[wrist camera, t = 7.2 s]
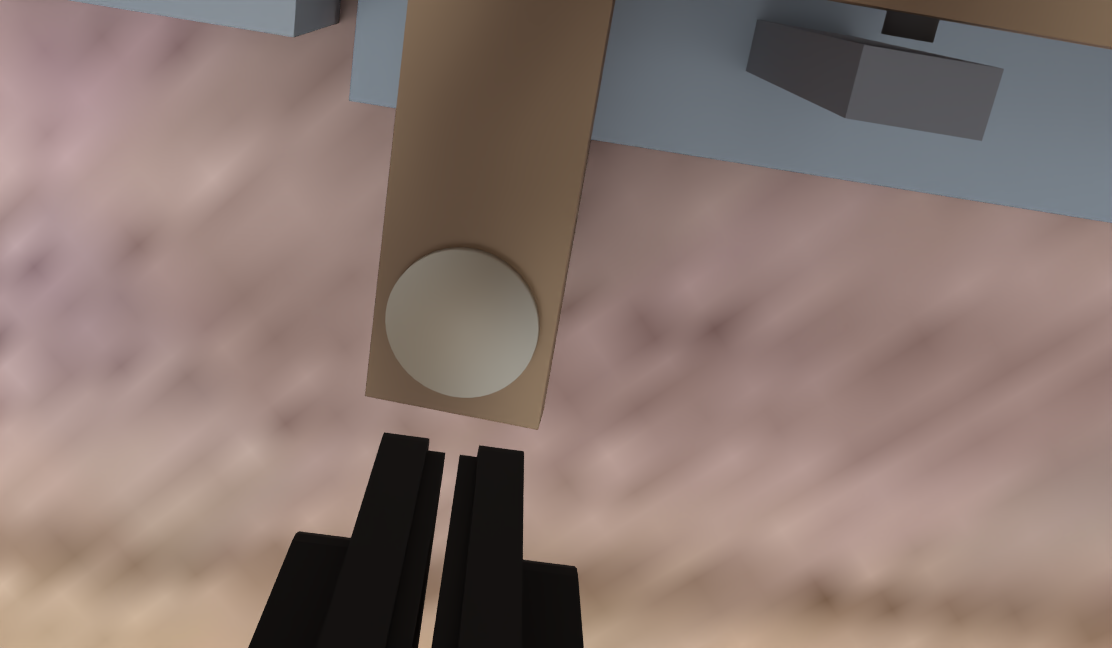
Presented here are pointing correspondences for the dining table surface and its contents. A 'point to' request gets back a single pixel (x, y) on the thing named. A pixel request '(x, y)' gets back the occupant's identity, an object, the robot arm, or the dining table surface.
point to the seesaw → (533, 184)
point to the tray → (241, 13)
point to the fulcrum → (836, 97)
